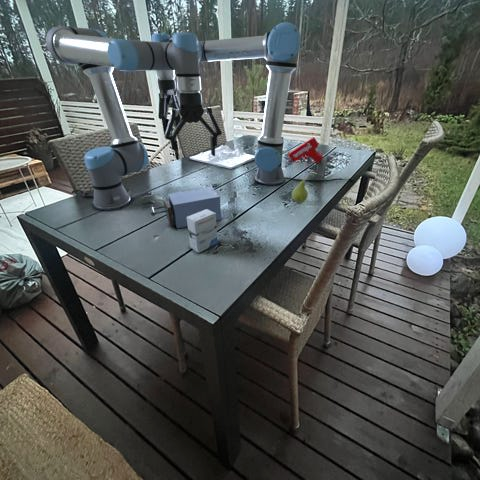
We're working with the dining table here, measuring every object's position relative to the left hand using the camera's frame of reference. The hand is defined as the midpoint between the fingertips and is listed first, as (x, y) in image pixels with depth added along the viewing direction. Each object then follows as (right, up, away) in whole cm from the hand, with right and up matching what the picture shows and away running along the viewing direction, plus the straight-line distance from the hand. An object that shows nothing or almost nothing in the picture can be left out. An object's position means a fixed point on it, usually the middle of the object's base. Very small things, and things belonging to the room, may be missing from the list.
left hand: (195, 157), depth 100 cm
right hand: (-15, +20, +27) cm, 36 cm away
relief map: (+6, +23, +79) cm, 82 cm away
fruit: (+43, -14, +21) cm, 50 cm away
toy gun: (+58, +18, +71) cm, 93 cm away
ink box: (+4, -33, -8) cm, 34 cm away
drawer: (-7, -22, +7) cm, 24 cm away
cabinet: (-1, -22, +9) cm, 24 cm away
